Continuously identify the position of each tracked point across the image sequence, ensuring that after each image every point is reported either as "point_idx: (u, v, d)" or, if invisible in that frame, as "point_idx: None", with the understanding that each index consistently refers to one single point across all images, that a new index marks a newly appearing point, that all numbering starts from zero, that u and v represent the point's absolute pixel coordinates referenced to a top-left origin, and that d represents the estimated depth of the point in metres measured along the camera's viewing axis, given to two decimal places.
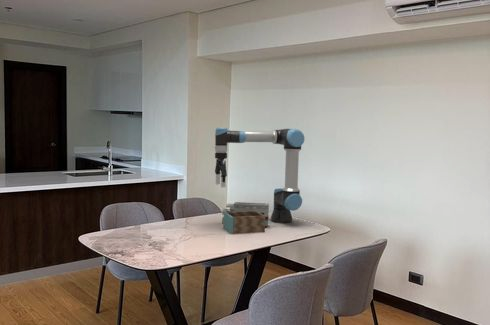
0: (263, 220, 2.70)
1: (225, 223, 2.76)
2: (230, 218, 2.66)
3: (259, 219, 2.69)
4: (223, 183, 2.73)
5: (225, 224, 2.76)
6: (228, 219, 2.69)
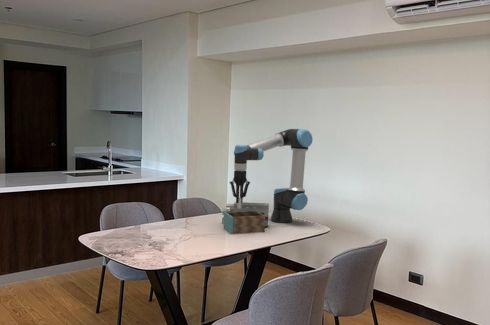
0: (263, 220, 2.70)
1: (225, 223, 2.76)
2: (230, 218, 2.66)
3: (259, 219, 2.69)
4: (238, 204, 2.72)
5: (225, 224, 2.76)
6: (228, 219, 2.69)
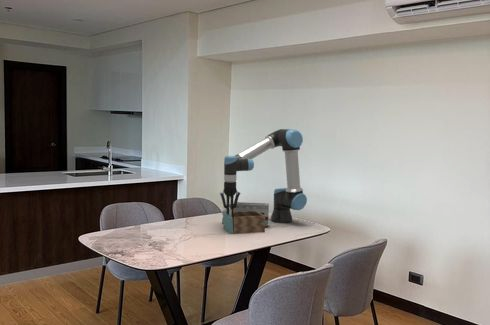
0: (263, 220, 2.70)
1: (225, 224, 2.76)
2: (229, 218, 2.65)
3: (259, 219, 2.69)
4: None
5: (224, 224, 2.76)
6: (227, 220, 2.69)
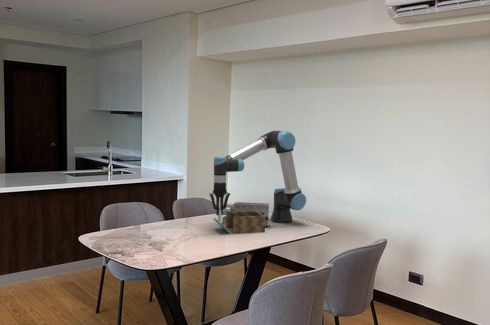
0: (263, 220, 2.70)
1: (222, 227, 2.75)
2: None
3: (259, 219, 2.69)
4: (218, 216, 2.69)
5: (222, 227, 2.76)
6: (220, 225, 2.68)
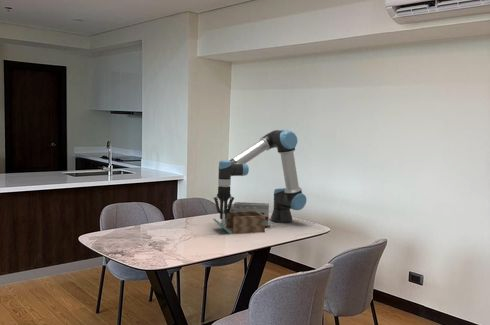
0: (263, 220, 2.70)
1: None
2: (220, 225, 2.64)
3: (259, 219, 2.69)
4: (221, 220, 2.70)
5: None
6: None
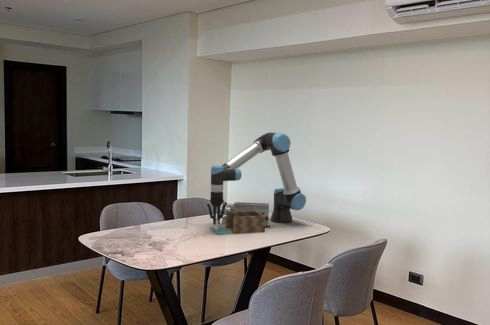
0: (263, 220, 2.70)
1: None
2: None
3: (259, 219, 2.69)
4: (215, 225, 2.69)
5: None
6: None
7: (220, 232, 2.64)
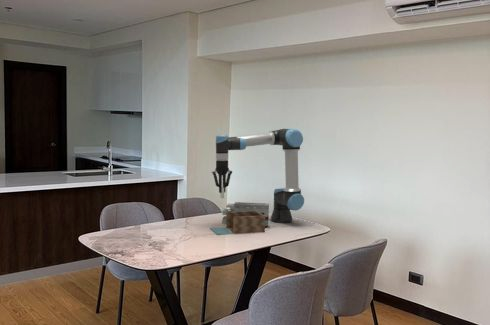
0: (263, 220, 2.70)
1: None
2: None
3: (259, 219, 2.69)
4: (221, 194, 2.75)
5: None
6: None
7: (220, 232, 2.64)
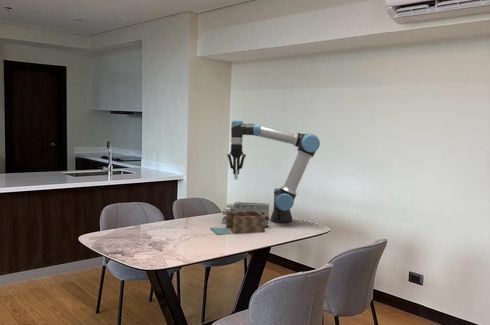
0: (263, 220, 2.70)
1: None
2: None
3: (259, 219, 2.69)
4: (235, 175, 2.95)
5: None
6: None
7: (220, 232, 2.64)
